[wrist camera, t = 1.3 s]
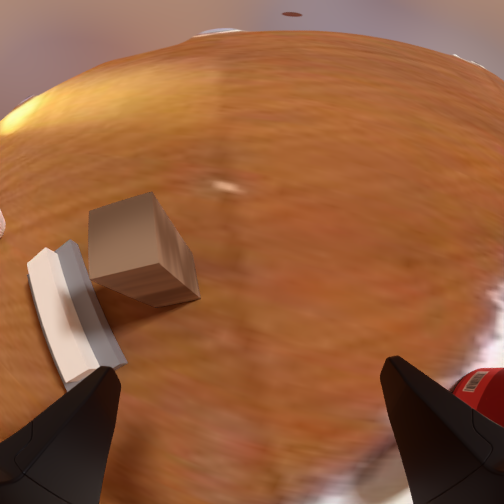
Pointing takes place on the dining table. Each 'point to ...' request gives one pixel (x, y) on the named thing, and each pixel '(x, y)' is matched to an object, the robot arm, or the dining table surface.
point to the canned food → (484, 392)
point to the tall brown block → (140, 253)
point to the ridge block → (71, 315)
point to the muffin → (2, 224)
